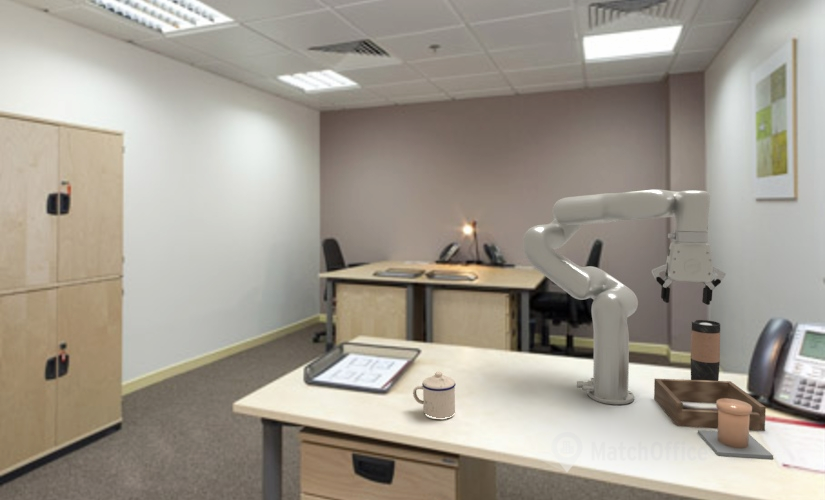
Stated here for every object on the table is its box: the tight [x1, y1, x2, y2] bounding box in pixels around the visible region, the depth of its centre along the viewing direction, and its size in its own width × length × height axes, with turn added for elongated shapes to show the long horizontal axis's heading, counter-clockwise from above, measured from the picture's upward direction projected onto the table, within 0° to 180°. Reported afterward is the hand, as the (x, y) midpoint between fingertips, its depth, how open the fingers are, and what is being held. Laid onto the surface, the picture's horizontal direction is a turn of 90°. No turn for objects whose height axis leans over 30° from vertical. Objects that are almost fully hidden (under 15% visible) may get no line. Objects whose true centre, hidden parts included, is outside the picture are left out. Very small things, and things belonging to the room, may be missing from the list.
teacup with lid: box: [412, 371, 456, 418], centre depth 132 cm, size 12×9×12 cm
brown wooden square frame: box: [653, 378, 767, 432], centre depth 128 cm, size 20×18×6 cm
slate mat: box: [697, 429, 774, 460], centre depth 111 cm, size 11×11×1 cm
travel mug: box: [690, 319, 721, 381], centre depth 147 cm, size 8×8×20 cm
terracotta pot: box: [715, 398, 752, 448], centre depth 111 cm, size 7×7×9 cm
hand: (685, 302), depth 126 cm, fingers open, 9 cm apart
